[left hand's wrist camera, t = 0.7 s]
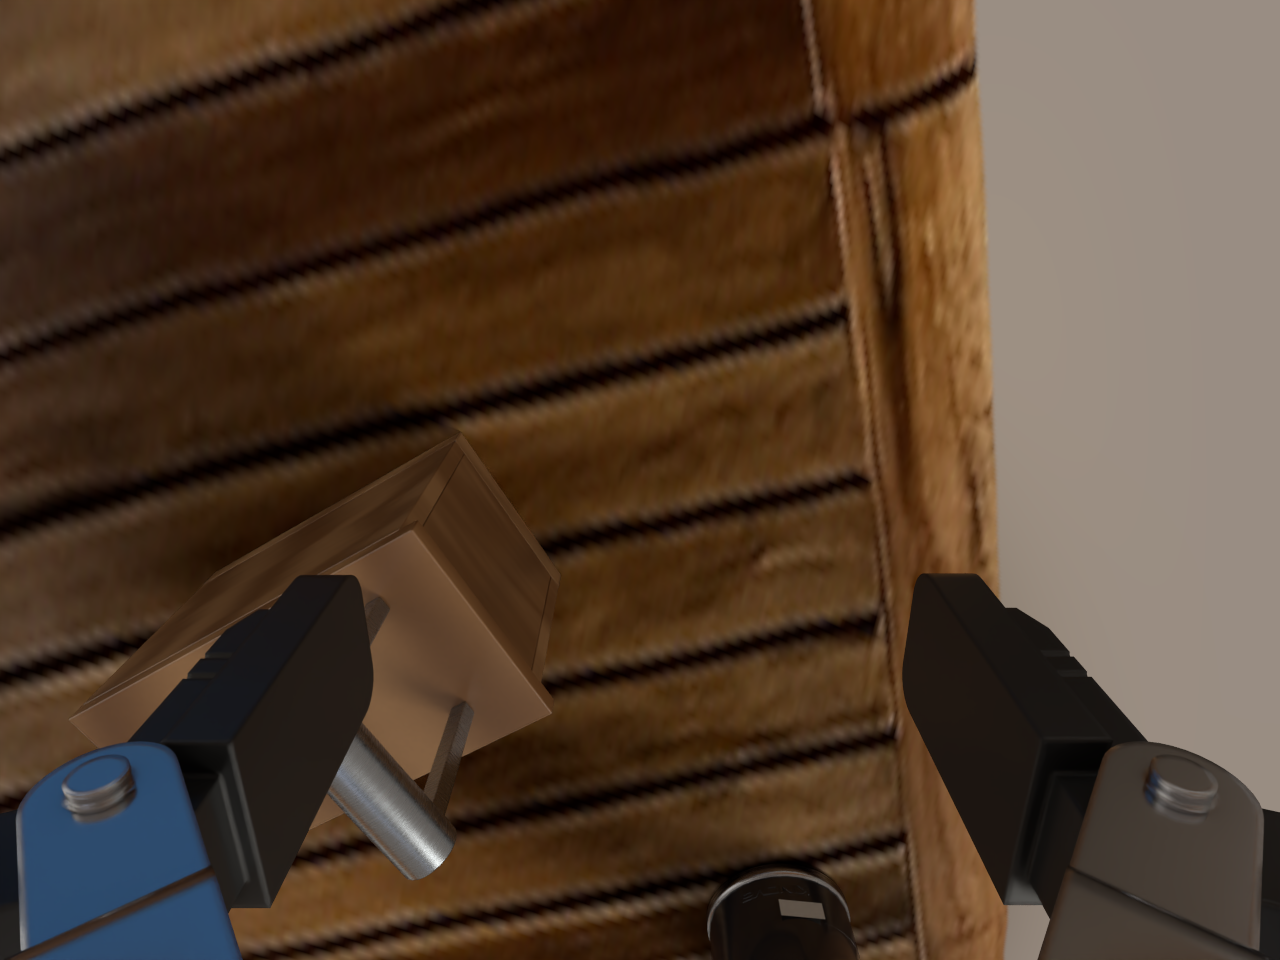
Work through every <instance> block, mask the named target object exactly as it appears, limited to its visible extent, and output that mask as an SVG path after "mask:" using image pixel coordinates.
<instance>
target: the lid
mask: <svg viewBox="0 0 1280 960" xmlns="http://www.w3.org/2000/svg"><path fill="white" fill-rule="evenodd" d="M319 575H354V576H355V577H357V579H358V581H359V583H360V586H361V590H362V596H363V602H364V609H365V616H366V622H367V629H368V635H369V642H370V649H371V655H372V662H373V672H374V681H373V692H372V697H371V702H370V705H369V708H368V711H367V713H366V715H365V717H364V719H363V721H362V723H361V725H360V728H359V730H358V732H357V734H356V736H355V738H354V740H353V742H352V744H351V746H350V748H349V750H348V752H347V754H346V756H345V758H344V760H343V762H342V764H341V766H340V768H339V770H338V772H337V774H336V776H335V778H334V780H333V782H332V784H331V786H330V788H329V790H328V792H327V794H326V796H325V798H324V800H323V802H322V804H321V806H320V808H319V810H318V812H317V814H316V816H315V818H314V820H313V822H312V825H311V827H310V829H312V828H314V827H316V826H319V825H321V824H323V823H325V822H327V821H329V820H331V819H333V818H335V817H337V816H339V815H342V814H344V813H345V814H346V815H347V816H348V817H349V818H350V819H351V820H352V821H353V822H354V823H355V824H356V825H357V826H358V828H359V829H360V830H361V831H362V832H363V833H364V834H365V835H366V836H367V837H368V838H369V839H370V840H371V841H372V842H373V843H374V844H375V846H376V847H377V848H378V849H379V850H380V851H381V852H382V853H383V854H384V855H385V856H386V857H387V858H388V859H389V860H390V861H391V862H392V864H393V865H394V866H395V867H396V868H397V869H398V870H399V871H400V872H401V873H402V874H403V875H404V876H405V877H406V878H407V879H410V880H418V879H421V878H423V877H425V876H427V875H429V874H430V873H432V872H433V871H434V870H436V869H437V868H438V867H439V866H440V865H441V864H442V863H443V862H444V860H445V859H446V858H447V857H448V855H449V854H450V852H451V850H452V848H453V846H454V844H455V841H456V835H457V834H456V829H455V827H454V826H453V825H452V824H451V823H450V821H449V820H448V819H447V818H446V817H445V813H446V809H447V806H448V802H449V799H450V795H451V792H452V789H453V785H454V782H455V778H456V775H457V771H458V768H459V764H460V761H461V757H462V756H465V755H467V754H469V753H471V752H473V751H475V750H477V749H479V748H481V747H483V746H485V745H487V744H490V743H492V742H494V741H496V740H498V739H500V738H502V737H504V736H506V735H508V734H510V733H513V732H515V731H517V730H519V729H521V728H523V727H525V726H527V725H529V724H531V723H533V722H535V721H538V720H540V719H542V718H544V717H546V716H548V715H550V714H552V711H553V704H554V699H553V698H552V697H551V695H550V694H549V693H548V691H547V690H546V689H545V687H544V686H543V685H542V683H541V682H540V681H539V679H538V678H537V677H536V675H535V674H534V673H533V671H532V670H531V669H530V667H529V666H528V665H527V664H526V662H525V661H524V660H523V658H522V657H521V656H520V654H519V653H518V652H517V650H516V649H515V648H514V646H513V645H512V644H511V642H510V641H509V640H508V638H507V637H506V636H505V634H504V633H503V632H502V630H501V629H500V628H499V626H498V625H497V624H496V622H495V621H494V620H493V619H492V617H491V616H490V615H489V613H488V612H487V611H486V609H485V608H484V607H483V605H482V604H481V603H480V601H479V600H478V599H477V597H476V596H475V595H474V593H473V592H472V591H471V589H470V588H469V587H468V585H467V584H466V583H465V581H464V580H463V579H462V577H461V576H460V575H459V574H458V572H457V571H456V570H455V568H454V567H453V566H452V564H451V563H450V562H449V560H448V559H447V558H446V556H445V555H444V554H443V552H442V551H441V550H440V548H439V547H438V546H437V544H436V543H435V542H434V540H433V539H432V538H431V536H430V535H429V534H428V532H427V531H426V530H425V529H424V527H423V526H422V525H421V523H420V522H419V521H418V520H416V521H414V522H413V523H411V524H409V525H407V526H405V527H404V528H402V529H400V530H398V531H396V532H395V533H393V534H391V535H389V536H387V537H386V538H384V539H382V540H380V541H378V542H377V543H375V544H373V545H371V546H369V547H368V548H366V549H364V550H362V551H360V552H359V553H357V554H355V555H353V556H351V557H350V558H348V559H346V560H344V561H342V562H341V563H339V564H337V565H335V566H333V567H332V568H330V569H328V570H326V571H324V572H323V573H321V574H319ZM279 597H280V596H279ZM279 597H277V598H276V599H274V600H272V601H270V602H268V603H267V604H265V605H263V606H261V607H259V608H258V609H256V610H254V611H252V612H250V613H249V614H247V615H245V616H243V617H241V618H240V619H238V620H236V621H234V622H232V623H231V624H229V625H227V626H225V627H223V628H222V629H220V630H218V631H216V632H214V633H213V634H211V635H209V636H207V637H205V638H204V639H202V640H200V641H198V642H196V643H195V644H193V645H191V646H189V647H187V648H186V649H184V650H182V651H180V652H178V653H177V654H175V655H173V656H171V657H169V658H168V659H166V660H164V661H162V662H160V663H159V664H157V665H155V666H153V667H151V668H150V669H148V670H146V671H144V672H142V673H141V674H139V675H137V676H135V677H133V678H132V679H130V680H128V681H126V682H124V683H122V684H121V685H119V686H117V687H115V688H113V689H112V690H110V691H108V692H106V693H104V694H103V695H101V696H99V697H97V698H95V699H94V700H92V701H90V702H88V703H86V704H85V705H83V706H81V707H80V708H79V709H78V710H77V711H76V712H75V713H74V714H73V715H72V716H71V717H70V718H69V721H70V722H71V723H72V724H73V725H74V726H75V727H77V728H78V729H79V730H80V731H81V732H82V733H83V734H84V735H85V736H86V737H87V738H88V739H89V740H90V741H91V742H92V743H93V744H95V745H96V746H97V747H98V748H99V749H100V748H103V747H106V746H110V745H114V744H119V743H126V742H127V741H128V740H129V739H130V738H131V737H132V736H133V735H134V733H135V732H136V731H137V730H138V729H139V728H140V727H141V726H142V724H143V723H144V722H145V721H146V720H147V719H148V718H149V716H150V715H151V714H152V713H153V712H154V711H155V710H156V709H157V707H158V706H159V705H160V704H161V703H162V702H163V701H164V699H165V698H166V697H167V696H168V695H169V694H170V693H171V692H172V690H173V689H174V688H175V687H176V686H177V685H178V684H179V682H180V681H181V680H182V679H187V676H188V674H187V673H188V672H189V671H190V670H191V669H192V668H193V667H194V665H195V664H196V663H197V662H198V661H199V660H200V659H201V658H205V653H206V652H207V651H208V650H209V648H210V647H211V646H212V645H213V644H214V643H215V642H216V641H217V639H218V638H219V637H220V636H221V635H222V634H223V633H224V631H225V630H226V629H228V628H230V627H231V626H233V625H234V624H236V623H238V622H239V621H241V620H242V619H244V618H246V617H247V616H249V615H251V614H252V613H254V612H255V611H257V610H259V609H270V608H271V607H272V606H273V605H274V603H275V602H276V601H277V600H278V599H279ZM429 772H430V774H429V777H428V780H427V783H426V786H425V789H424V792H423V791H422V790H421V789H420V787H419V786H418V785H417V784H416V783H415V782H414V781H413V780H414V779H417V778H419V777H421V776H423V775H425V774H427V773H429ZM310 829H309V830H310Z"/></svg>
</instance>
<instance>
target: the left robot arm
mask: <svg viewBox="0 0 1280 960" xmlns="http://www.w3.org/2000/svg"><path fill="white" fill-rule="evenodd" d="M187 674H188V676H187V679H182V680H181V681H180V682H179V684H178V685H177V686H176V687H175V688H174V689H173V690H172V692H171V693H170V694H169V695H168V696H167V697H166V698H165V699H164V701H163V702H162V703H161V704H160V705H159V706H158V707H157V709H156V710H155V711H154V712H153V713H152V714H151V715H150V716H149V718H148V719H147V720H146V721H145V722H144V723H143V724H142V726H141V727H140V728H139V729H138V730H137V731H136V732H135V733H134V735H133V736H132V737H131V738H130V739H129V740H128V741H127V742H126V743H119V744H114V745H110V746H106V747H103V748H100V749H96V750H93V751H91V752H88V753H86V754H83V755H81V756H79V757H77V758H75V759H73V760H71V761H68V762H67V763H65V764H63V765H62V766H60V767H58V768H57V769H55V770H54V771H52V772H51V773H49V774H48V775H47V776H45V777H44V778H43V779H42V780H40V781H39V782H38V783H37V784H36V785H35V786H34V787H33V788H32V789H31V790H30V791H29V792H28V793H27V794H26V796H25V797H24V799H23V800H22V802H21V803H20V806H19V808H18V810H14V811H10V812H6V813H1V814H0V960H242V957H241V954H240V950H239V947H238V944H237V941H236V938H235V934H234V931H233V928H232V925H231V922H230V919H229V915H228V913H229V911H230V909H231V908H270V907H271V905H272V903H273V901H274V899H275V897H276V895H277V893H278V891H279V889H280V887H281V885H282V883H283V881H284V879H285V877H286V875H287V873H288V871H289V869H290V867H291V865H292V863H293V861H294V859H295V857H296V855H297V853H298V851H299V849H300V847H301V845H302V843H303V841H304V839H305V837H306V835H307V833H308V831H309V829H310V827H311V825H312V822H313V820H314V818H315V816H316V814H317V812H318V810H319V808H320V806H321V804H322V802H323V800H324V798H325V796H326V794H327V792H328V790H329V788H330V786H331V784H332V782H333V780H334V778H335V776H336V774H337V772H338V770H339V768H340V766H341V764H342V762H343V760H344V758H345V756H346V754H347V752H348V750H349V748H350V746H351V744H352V742H353V740H354V738H355V736H356V734H357V732H358V730H359V728H360V725H361V723H362V721H363V719H364V717H365V715H366V713H367V711H368V708H369V705H370V702H371V697H372V692H373V681H374V672H373V662H372V655H371V649H370V642H369V635H368V629H367V622H366V616H365V609H364V602H363V596H362V590H361V586H360V583H359V581H358V579H357V577H355V576H354V575H299V576H297V577H296V578H295V579H294V580H293V582H292V583H291V584H290V585H289V586H288V588H287V589H286V590H285V591H284V593H283V594H282V595H281V596H280V597H279V599H278V600H277V601H276V602H275V603H274V605H273V606H272V607H271V608H270V609H259V610H257V611H255V612H254V613H252V614H251V615H249V616H247V617H246V618H244V619H242V620H241V621H239V622H238V623H236V624H234V625H233V626H231V627H230V628H228V629H226V630H225V631H224V633H223V634H222V635H221V636H220V637H219V638H218V639H217V641H216V642H215V643H214V644H213V645H212V646H211V647H210V648H209V650H208V651H207V652H206V653H205V658H201V659H200V660H199V661H198V662H197V663H196V664H195V665H194V667H193V668H192V669H191V670H190V671H189V672H188V673H187ZM902 680H903V690H904V696H905V700H906V704H907V707H908V710H909V712H910V714H911V716H912V718H913V720H914V722H915V724H916V726H917V728H918V730H919V732H920V734H921V737H922V739H923V741H924V743H925V745H926V747H927V749H928V751H929V753H930V755H931V757H932V759H933V761H934V763H935V765H936V767H937V769H938V771H939V773H940V775H941V777H942V779H943V782H944V784H945V786H946V788H947V790H948V792H949V794H950V796H951V798H952V800H953V802H954V804H955V806H956V808H957V810H958V812H959V814H960V816H961V818H962V820H963V822H964V824H965V827H966V829H967V831H968V833H969V835H970V837H971V839H972V841H973V843H974V845H975V847H976V849H977V851H978V853H979V855H980V857H981V859H982V861H983V863H984V865H985V867H986V869H987V872H988V874H989V876H990V878H991V880H992V882H993V884H994V886H995V888H996V890H997V892H998V894H999V896H1000V898H1001V900H1002V902H1003V904H1004V905H1043V907H1044V909H1045V911H1046V913H1047V914H1048V916H1049V918H1050V922H1049V925H1048V928H1047V931H1046V934H1045V938H1044V941H1043V944H1042V947H1041V951H1040V954H1039V957H1038V960H1280V812H1275V811H1271V810H1266V809H1262V808H1261V806H1260V803H1259V802H1258V800H1257V799H1256V797H1255V796H1254V795H1253V793H1252V792H1251V791H1250V790H1249V789H1248V788H1247V787H1246V786H1245V785H1244V784H1243V783H1242V782H1241V781H1240V780H1238V779H1237V778H1236V777H1235V776H1233V775H1232V774H1231V773H1229V772H1228V771H1226V770H1225V769H1223V768H1222V767H1220V766H1218V765H1217V764H1215V763H1213V762H1211V761H1209V760H1207V759H1205V758H1203V757H1201V756H1199V755H1197V754H1194V753H1192V752H1189V751H1187V750H1183V749H1180V748H1177V747H1174V746H1170V745H1166V744H1161V743H1154V742H1148V741H1147V740H1146V739H1145V738H1144V736H1143V735H1142V734H1141V733H1140V732H1139V731H1138V730H1137V728H1136V727H1135V726H1134V725H1133V724H1132V723H1131V722H1130V720H1129V719H1128V718H1127V717H1126V716H1125V715H1124V714H1123V712H1122V711H1121V710H1120V709H1119V708H1118V707H1117V706H1116V704H1115V703H1114V702H1113V701H1112V700H1111V699H1110V698H1109V696H1108V695H1107V694H1106V693H1105V692H1104V691H1103V690H1102V688H1101V687H1100V686H1099V685H1098V684H1097V683H1096V682H1095V680H1094V679H1093V678H1092V677H1087V671H1086V670H1085V669H1084V668H1083V667H1082V665H1081V664H1080V663H1079V662H1078V661H1077V660H1076V659H1075V657H1070V654H1069V651H1068V650H1067V648H1066V647H1065V646H1064V645H1063V644H1062V643H1061V642H1060V640H1059V639H1058V638H1057V637H1056V636H1055V635H1054V633H1053V632H1052V631H1051V630H1050V629H1049V628H1048V627H1046V626H1045V625H1043V624H1041V623H1040V622H1038V621H1037V620H1035V619H1033V618H1032V617H1030V616H1029V615H1027V614H1025V613H1024V612H1022V611H1020V610H1019V609H1017V608H1005V607H1004V606H1003V604H1002V603H1001V602H1000V601H999V599H998V598H997V597H996V596H995V595H994V593H993V592H992V591H991V590H990V588H989V587H988V586H987V585H986V584H985V582H984V581H983V580H982V579H981V578H980V577H979V576H978V575H977V574H921V575H920V576H919V577H918V579H917V581H916V584H915V588H914V593H913V600H912V607H911V613H910V620H909V627H908V634H907V640H906V647H905V654H904V661H903V671H902ZM707 929H708V936H709V940H710V945H711V956H712V960H860V957H859V953H858V949H857V946H856V942H855V938H854V935H853V931H852V928H851V924H850V915H849V911H848V907H847V904H846V900H845V897H844V895H843V893H842V891H841V890H840V888H839V887H838V886H837V884H836V883H835V882H834V881H833V880H831V879H830V878H829V877H827V876H826V875H824V874H823V873H821V872H819V871H817V870H814V869H812V868H808V867H805V866H801V865H795V864H768V865H762V866H758V867H754V868H751V869H748V870H745V871H743V872H741V873H739V874H737V875H735V876H733V877H732V878H730V879H729V880H727V881H726V882H725V883H724V884H723V885H721V887H720V888H719V889H718V890H717V891H716V892H715V894H714V895H713V897H712V898H711V900H710V903H709V905H708V909H707Z"/></svg>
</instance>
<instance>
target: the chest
mask: <svg viewBox="0 0 1280 960" xmlns="http://www.w3.org/2000/svg"><path fill="white" fill-rule="evenodd" d="M416 520H418V521H419V522H420V523H421V525H422V526H423V527H424V529H425V530H426V531H427V532H428V534H429V535H430V536H431V538H432V539H433V540H434V542H435V543H436V544H437V546H438V547H439V548H440V550H441V551H442V552H443V554H444V555H445V556H446V558H447V559H448V560H449V562H450V563H451V564H452V566H453V567H454V568H455V570H456V571H457V572H458V574H459V575H460V576H461V577H462V579H463V580H464V581H465V583H466V584H467V585H468V587H469V588H470V589H471V591H472V592H473V593H474V595H475V596H476V597H477V599H478V600H479V601H480V603H481V604H482V605H483V607H484V608H485V609H486V611H487V612H488V613H489V615H490V616H491V617H492V619H493V620H494V621H495V622H496V624H497V625H498V626H499V628H500V629H501V630H502V632H503V633H504V634H505V636H506V637H507V638H508V640H509V641H510V642H511V644H512V645H513V646H514V648H515V649H516V650H517V652H518V653H519V654H520V656H521V657H522V658H523V660H524V661H525V662H526V664H527V665H528V666H529V667H530V669H531V670H532V671H533V673H534V674H535V675H536V677H537V678H538V679H539V681H540V682H541V680H542V674H543V669H544V663H545V658H546V652H547V647H548V641H549V636H550V630H551V624H552V619H553V613H554V608H555V602H556V597H557V591H558V587H559V584H560V579H561V574H560V573H559V571H558V570H557V569H556V567H555V566H554V564H553V563H552V561H551V560H550V559H549V557H548V556H547V554H546V553H545V551H544V550H543V549H542V547H541V546H540V544H539V543H538V541H537V540H536V539H535V537H534V536H533V534H532V533H531V531H530V530H529V529H528V527H527V526H526V524H525V523H524V521H523V520H522V519H521V517H520V516H519V514H518V513H517V511H516V510H515V509H514V507H513V506H512V504H511V503H510V501H509V500H508V499H507V497H506V496H505V494H504V493H503V491H502V490H501V489H500V487H499V486H498V484H497V483H496V481H495V480H494V479H493V477H492V476H491V474H490V473H489V471H488V470H487V469H486V467H485V466H484V464H483V463H482V461H481V460H480V459H479V457H478V456H477V454H476V453H475V451H474V450H473V449H472V447H471V446H470V444H469V443H468V441H467V440H466V438H465V437H464V436H463V434H462V433H461V432H459V433H457V434H456V435H454V436H452V437H450V438H449V439H447V440H445V441H443V442H442V443H440V444H438V445H436V446H435V447H433V448H431V449H429V450H428V451H426V452H424V453H422V454H421V455H419V456H417V457H415V458H414V459H412V460H410V461H408V462H407V463H405V464H403V465H401V466H400V467H398V468H396V469H395V470H393V471H391V472H389V473H388V474H386V475H384V476H382V477H381V478H379V479H377V480H375V481H374V482H372V483H370V484H368V485H367V486H365V487H363V488H361V489H360V490H358V491H356V492H354V493H353V494H351V495H349V496H347V497H346V498H344V499H342V500H340V501H339V502H337V503H335V504H333V505H332V506H330V507H328V508H327V509H325V510H323V511H321V512H320V513H318V514H316V515H314V516H313V517H311V518H309V519H307V520H306V521H304V522H302V523H300V524H299V525H297V526H295V527H293V528H292V529H290V530H288V531H286V532H285V533H283V534H281V535H279V536H278V537H276V538H274V539H272V540H271V541H269V542H267V543H265V544H264V545H262V546H260V547H259V548H257V549H255V550H253V551H252V552H250V553H248V554H246V555H245V556H243V557H241V558H239V559H238V560H236V561H234V562H232V563H231V564H229V565H227V566H225V567H224V568H222V569H220V570H218V571H217V572H215V573H214V574H213V575H212V576H211V577H210V578H209V579H208V580H207V581H206V582H205V583H204V584H203V585H202V586H201V587H200V588H199V589H198V590H197V591H196V592H195V593H194V594H193V595H192V596H191V597H190V598H189V599H188V600H187V601H186V602H185V603H184V604H183V605H182V606H181V607H180V608H179V609H178V610H177V611H176V612H175V613H174V614H173V615H172V616H171V617H170V618H169V619H168V620H167V621H166V622H165V623H164V624H163V625H162V626H161V627H160V628H159V629H158V630H157V631H156V632H155V633H154V634H153V635H152V636H151V637H150V638H149V639H148V640H147V641H146V642H145V643H144V644H143V645H142V646H141V647H140V648H139V649H138V650H137V651H136V652H135V653H134V654H133V655H132V656H131V657H130V658H129V659H128V660H127V661H126V662H125V663H124V664H123V665H122V666H121V667H120V668H119V669H118V670H117V671H116V672H115V673H114V674H113V675H112V676H111V677H110V678H109V679H108V680H107V681H106V682H105V683H104V684H103V685H102V686H101V687H100V688H99V689H98V690H97V691H96V692H95V693H94V694H93V695H92V696H91V697H90V698H89V699H88V700H87V701H86V702H85V703H84V704H83V705H85V704H86V703H88V702H90V701H92V700H94V699H95V698H97V697H99V696H101V695H103V694H104V693H106V692H108V691H110V690H112V689H113V688H115V687H117V686H119V685H121V684H122V683H124V682H126V681H128V680H130V679H132V678H133V677H135V676H137V675H139V674H141V673H142V672H144V671H146V670H148V669H150V668H151V667H153V666H155V665H157V664H159V663H160V662H162V661H164V660H166V659H168V658H169V657H171V656H173V655H175V654H177V653H178V652H180V651H182V650H184V649H186V648H187V647H189V646H191V645H193V644H195V643H196V642H198V641H200V640H202V639H204V638H205V637H207V636H209V635H211V634H213V633H214V632H216V631H218V630H220V629H222V628H223V627H225V626H227V625H229V624H231V623H232V622H234V621H236V620H238V619H240V618H241V617H243V616H245V615H247V614H249V613H250V612H252V611H254V610H256V609H258V608H259V607H261V606H263V605H265V604H267V603H268V602H270V601H272V600H274V599H276V598H277V597H279V596H281V595H282V594H283V593H284V591H285V590H286V589H287V588H288V586H289V585H290V584H291V583H292V582H293V580H294V579H295V578H296V577H297V576H299V575H319V574H321V573H323V572H324V571H326V570H328V569H330V568H332V567H333V566H335V565H337V564H339V563H341V562H342V561H344V560H346V559H348V558H350V557H351V556H353V555H355V554H357V553H359V552H360V551H362V550H364V549H366V548H368V547H369V546H371V545H373V544H375V543H377V542H378V541H380V540H382V539H384V538H386V537H387V536H389V535H391V534H393V533H395V532H396V531H398V530H400V529H402V528H404V527H405V526H407V525H409V524H411V523H413V522H414V521H416Z"/></svg>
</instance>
